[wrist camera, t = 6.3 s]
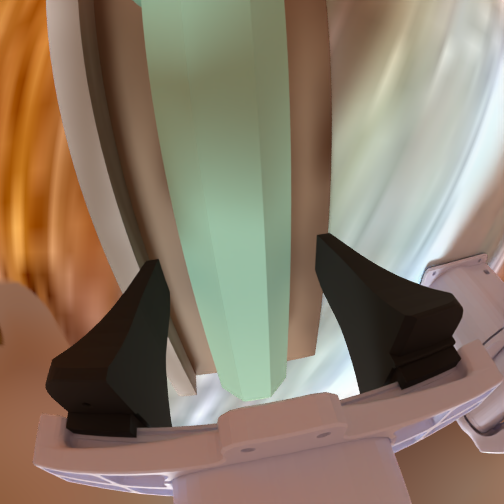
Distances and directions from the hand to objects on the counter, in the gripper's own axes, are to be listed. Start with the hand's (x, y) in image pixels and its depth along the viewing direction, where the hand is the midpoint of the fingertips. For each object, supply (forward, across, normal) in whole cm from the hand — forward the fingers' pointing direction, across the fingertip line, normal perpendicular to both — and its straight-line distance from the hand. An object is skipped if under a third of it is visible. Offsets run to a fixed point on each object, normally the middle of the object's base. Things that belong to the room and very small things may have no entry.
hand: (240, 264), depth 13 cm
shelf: (+5, +1, 0) cm, 5 cm away
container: (+4, 0, 0) cm, 4 cm away
